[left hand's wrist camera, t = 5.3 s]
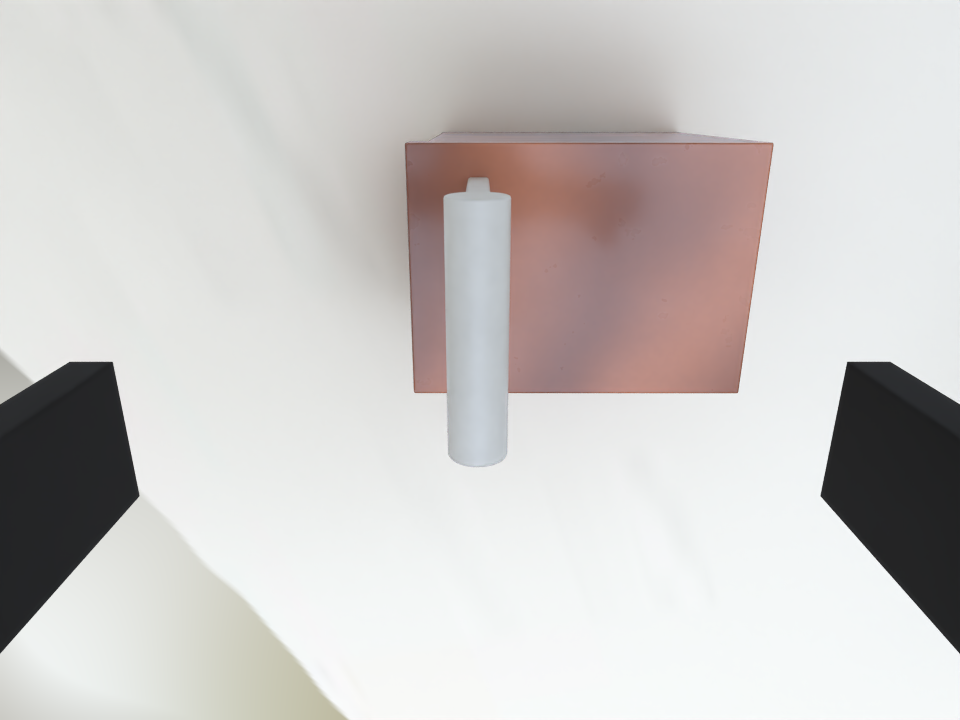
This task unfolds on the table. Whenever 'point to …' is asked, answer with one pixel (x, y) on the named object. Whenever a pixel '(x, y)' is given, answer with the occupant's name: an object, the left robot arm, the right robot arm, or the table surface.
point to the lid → (577, 272)
